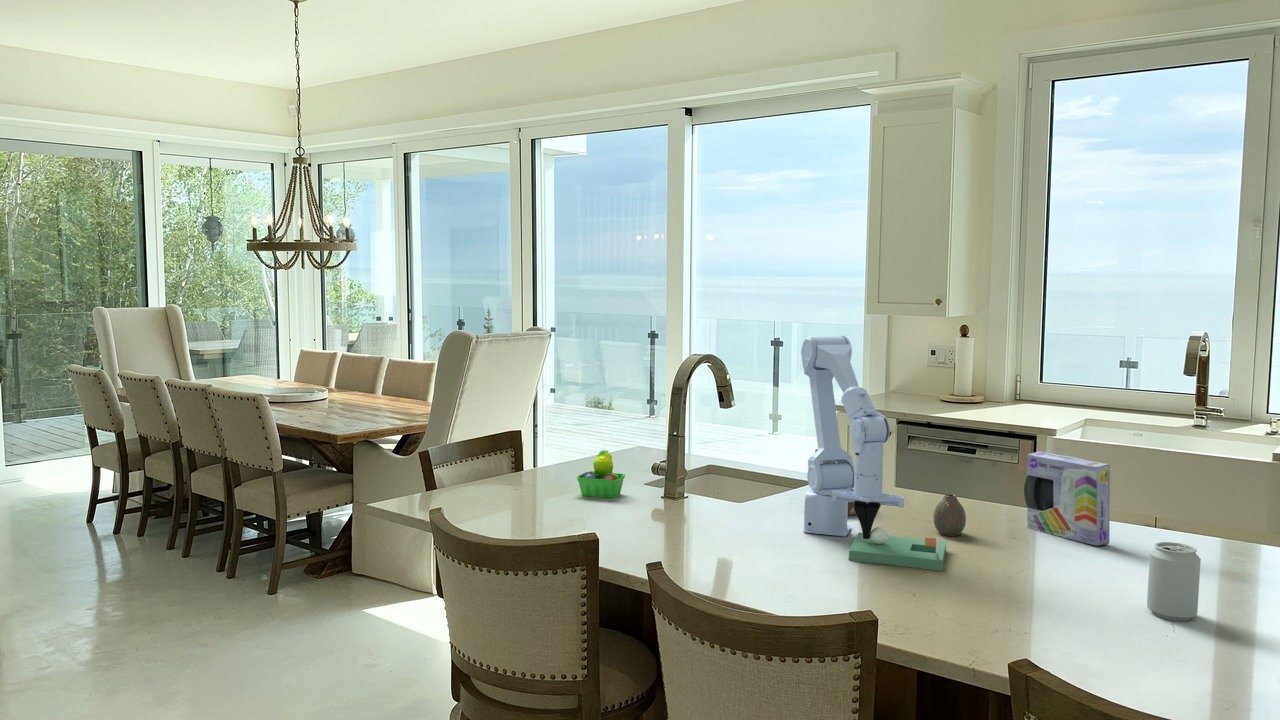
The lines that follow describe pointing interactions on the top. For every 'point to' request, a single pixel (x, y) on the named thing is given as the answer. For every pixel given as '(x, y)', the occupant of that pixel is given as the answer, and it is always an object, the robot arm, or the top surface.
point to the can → (1173, 581)
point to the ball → (879, 535)
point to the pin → (933, 544)
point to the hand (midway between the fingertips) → (866, 537)
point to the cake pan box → (1068, 497)
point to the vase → (949, 516)
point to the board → (898, 552)
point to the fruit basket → (601, 478)
